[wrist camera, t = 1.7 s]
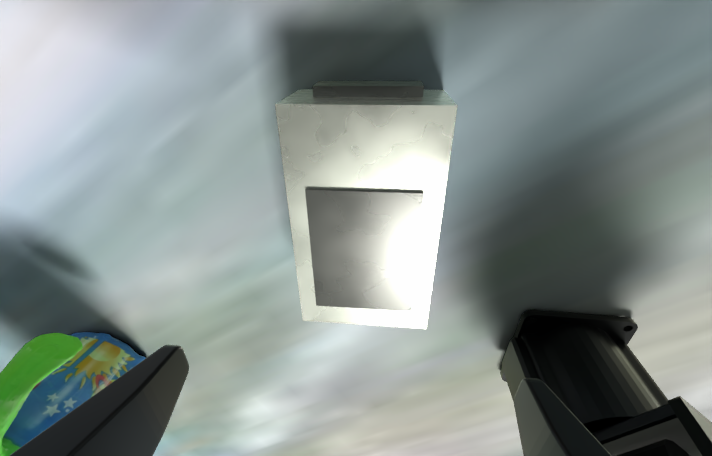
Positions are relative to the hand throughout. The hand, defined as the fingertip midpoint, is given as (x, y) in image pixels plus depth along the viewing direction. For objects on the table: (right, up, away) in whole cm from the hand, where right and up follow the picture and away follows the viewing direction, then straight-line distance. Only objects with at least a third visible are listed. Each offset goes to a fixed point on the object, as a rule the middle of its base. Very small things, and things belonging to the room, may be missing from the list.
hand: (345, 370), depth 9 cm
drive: (+1, +5, +9) cm, 11 cm away
